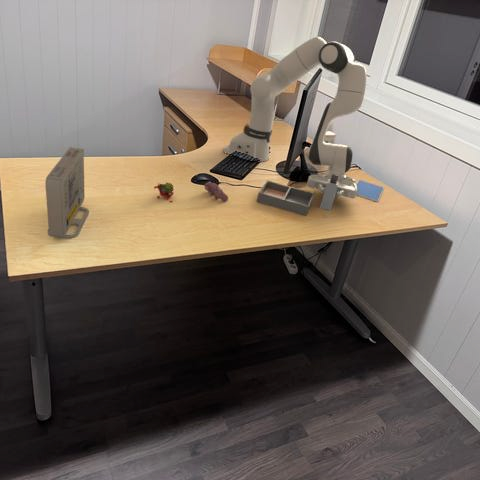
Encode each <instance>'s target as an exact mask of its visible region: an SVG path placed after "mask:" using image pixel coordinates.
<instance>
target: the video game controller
mask: <svg viewBox="0 0 480 480" xmlns="http://www.w3.org/2000/svg"><path fill="white" fill-rule="evenodd" d="M203 186H204V190H206V191H207V192H208V194H209V195H210V196H211V197H214V199H215V200H219V199H220V200H221V201H223V202H226V201H229V196H228V195H227V194H226V193H225V192H224V191H223V190H222V189H221V188H220V187H219V185H218V184H217V183H215V182H212V181H208V182H206V183H204V185H203Z"/></svg>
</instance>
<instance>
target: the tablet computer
mask: <svg viewBox="0 0 480 480" xmlns="http://www.w3.org/2000/svg"><path fill="white" fill-rule="evenodd" d="M355 184H356V185H357V193H356V196H357V197H360V198H363V199H366V200H368V201H371V202H379V201H380V198H381V196H382V194H383V192H384V190H385V187H383V186H380V185H377V184H374V183H370V182H368V181H365V180H362V179H358V180H357V181H356V182H355ZM356 196H355V197H356Z"/></svg>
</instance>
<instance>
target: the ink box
mask: <svg viewBox="0 0 480 480" xmlns="http://www.w3.org/2000/svg"><path fill="white" fill-rule="evenodd" d="M336 136H337V134H336V133H334V132H333V131H330V130H327V132H326V134H325V137H324V142H326V143H333V144H335V141H336Z"/></svg>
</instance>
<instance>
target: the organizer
mask: <svg viewBox="0 0 480 480" xmlns="http://www.w3.org/2000/svg"><path fill="white" fill-rule="evenodd" d="M314 196H315V192H310V191H307V190H304V189H301V188H296V187H292V186H289V185H285V184H283V183H282V184H281V183H277V182H275V181H274V182H273V181H270V180H266V181H265V183H264V184H263V185H262V187H261V188H260V190H259V192H258V194H257V199H256V203H258V204H261V205H265V206H266V205H267V206H270V207H273V208H277V209H280V210H285V211H288V212H290V213H294V214H298V215H301V216H305V217H307V216H308V214H309V210H310V208H311V205H312V203H313V199H314Z"/></svg>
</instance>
